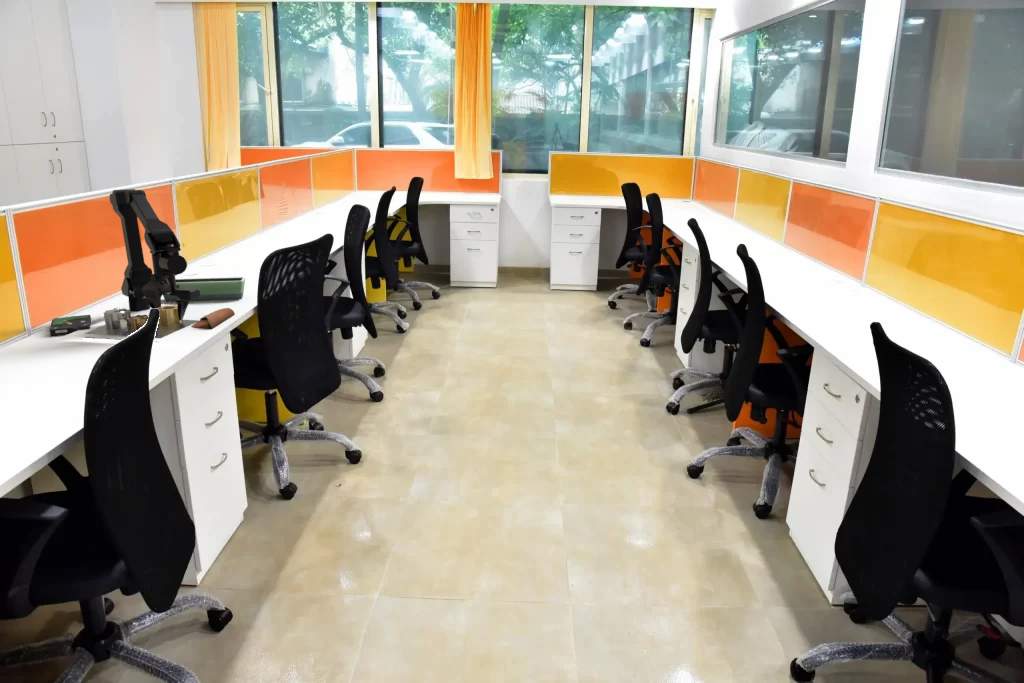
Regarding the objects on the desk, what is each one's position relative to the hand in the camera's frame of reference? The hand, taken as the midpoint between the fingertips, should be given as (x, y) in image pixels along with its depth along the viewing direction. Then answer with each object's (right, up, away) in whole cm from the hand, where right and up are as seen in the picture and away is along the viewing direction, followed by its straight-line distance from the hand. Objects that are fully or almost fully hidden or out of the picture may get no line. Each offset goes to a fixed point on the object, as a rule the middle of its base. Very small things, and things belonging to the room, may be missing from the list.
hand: (170, 319), depth 223 cm
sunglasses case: (+12, -2, +2) cm, 12 cm away
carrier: (-5, -3, -6) cm, 8 cm away
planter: (-4, +8, +35) cm, 36 cm away
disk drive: (-27, -4, -4) cm, 28 cm away
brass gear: (0, -1, 0) cm, 1 cm away
